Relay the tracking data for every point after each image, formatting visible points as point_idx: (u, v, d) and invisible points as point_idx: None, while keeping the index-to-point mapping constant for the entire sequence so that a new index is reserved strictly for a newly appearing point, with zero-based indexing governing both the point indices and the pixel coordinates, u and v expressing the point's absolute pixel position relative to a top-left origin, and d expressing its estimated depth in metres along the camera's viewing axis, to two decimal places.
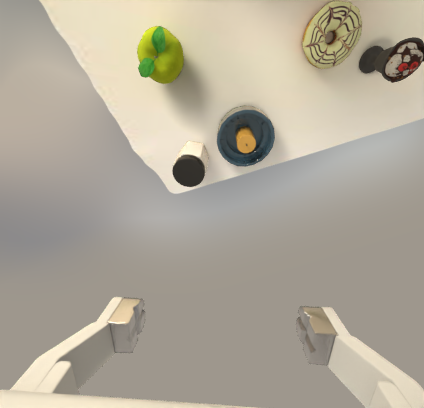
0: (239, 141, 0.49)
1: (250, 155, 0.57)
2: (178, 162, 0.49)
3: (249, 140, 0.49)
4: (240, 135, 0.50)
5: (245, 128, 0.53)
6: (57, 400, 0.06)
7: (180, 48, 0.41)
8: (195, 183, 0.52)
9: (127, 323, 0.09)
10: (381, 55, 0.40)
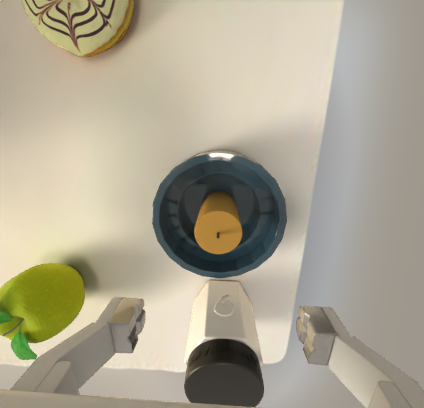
0: (205, 246, 0.20)
1: (264, 213, 0.24)
2: (189, 396, 0.21)
3: (211, 225, 0.19)
4: None
5: None
6: (57, 400, 0.05)
7: (26, 277, 0.24)
8: (257, 389, 0.20)
9: (127, 322, 0.09)
10: None
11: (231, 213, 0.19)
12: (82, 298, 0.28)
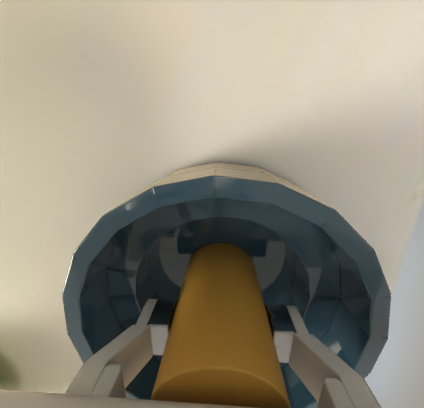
0: None
1: (319, 299, 0.11)
2: None
3: (198, 400, 0.06)
4: None
5: (183, 282, 0.11)
6: (57, 400, 0.06)
7: None
8: None
9: (167, 325, 0.09)
10: None
11: (260, 367, 0.06)
12: None
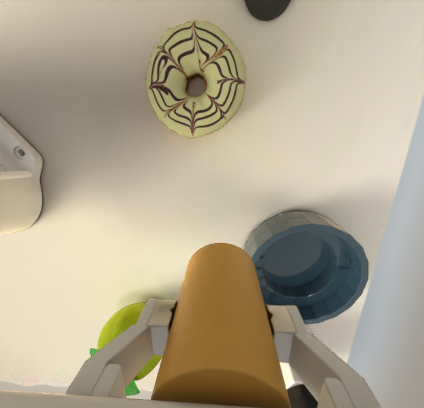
0: None
1: (341, 268, 0.27)
2: None
3: (199, 401, 0.06)
4: None
5: (183, 283, 0.11)
6: (57, 400, 0.05)
7: (129, 322, 0.27)
8: None
9: (167, 325, 0.09)
10: None
11: (260, 367, 0.06)
12: None
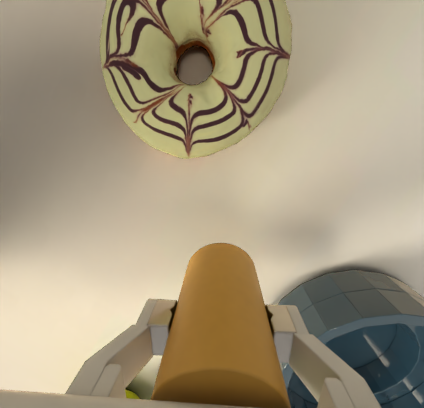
0: None
1: None
2: None
3: (198, 401, 0.06)
4: None
5: (183, 283, 0.11)
6: (57, 400, 0.05)
7: None
8: None
9: (167, 325, 0.09)
10: None
11: (260, 367, 0.06)
12: None
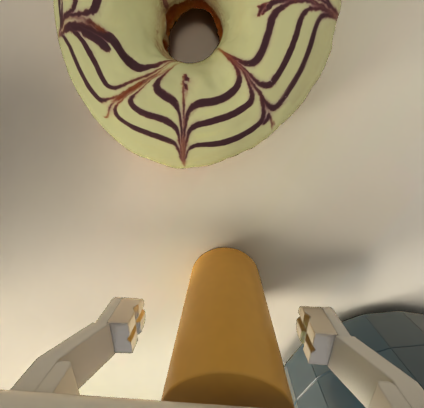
0: None
1: None
2: None
3: (207, 403, 0.07)
4: None
5: (188, 286, 0.12)
6: (57, 400, 0.06)
7: None
8: None
9: (127, 323, 0.09)
10: None
11: (266, 371, 0.06)
12: None
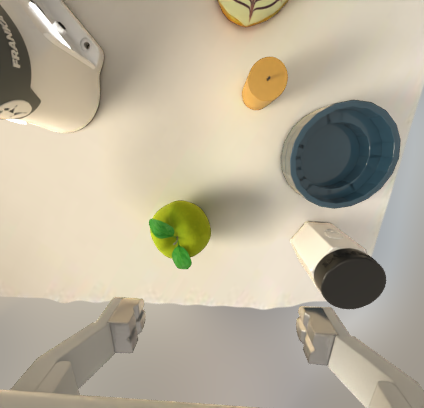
0: (255, 92, 0.24)
1: (372, 157, 0.30)
2: (324, 290, 0.27)
3: (262, 71, 0.23)
4: (247, 89, 0.25)
5: (245, 83, 0.29)
6: (57, 400, 0.05)
7: (180, 204, 0.30)
8: (381, 283, 0.26)
9: (127, 322, 0.09)
10: None
11: None
12: None
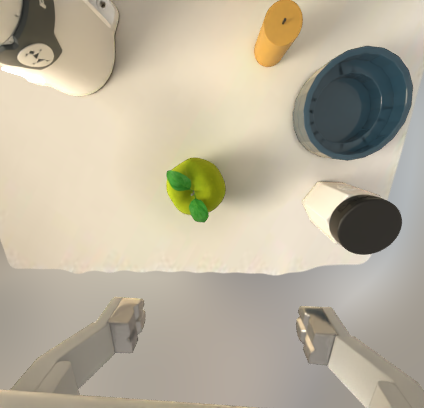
0: (271, 37, 0.25)
1: (384, 108, 0.30)
2: (341, 234, 0.27)
3: (278, 14, 0.24)
4: (262, 37, 0.26)
5: None
6: (57, 400, 0.06)
7: (196, 159, 0.31)
8: (396, 225, 0.26)
9: (127, 323, 0.09)
10: None
11: None
12: None
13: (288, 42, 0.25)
